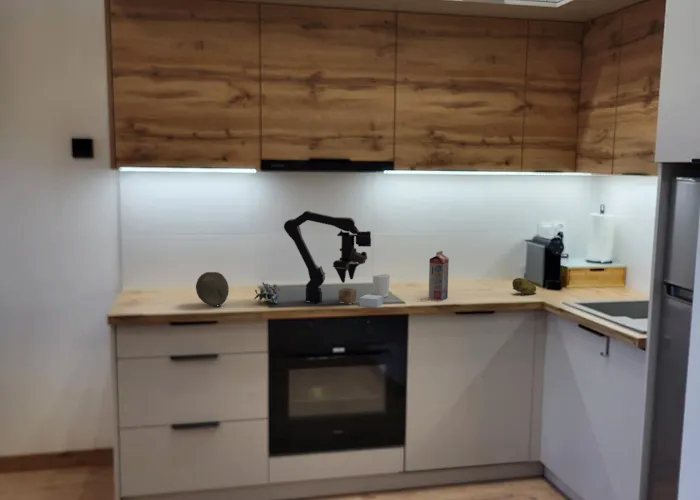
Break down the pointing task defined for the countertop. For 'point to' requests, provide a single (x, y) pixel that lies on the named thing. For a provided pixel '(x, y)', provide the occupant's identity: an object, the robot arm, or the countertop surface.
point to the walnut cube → (347, 295)
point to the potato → (523, 286)
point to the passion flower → (268, 293)
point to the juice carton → (438, 277)
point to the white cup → (381, 284)
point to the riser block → (371, 301)
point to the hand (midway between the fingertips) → (347, 280)
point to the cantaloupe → (212, 288)
